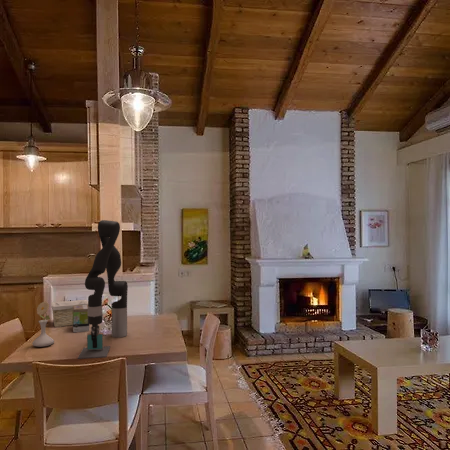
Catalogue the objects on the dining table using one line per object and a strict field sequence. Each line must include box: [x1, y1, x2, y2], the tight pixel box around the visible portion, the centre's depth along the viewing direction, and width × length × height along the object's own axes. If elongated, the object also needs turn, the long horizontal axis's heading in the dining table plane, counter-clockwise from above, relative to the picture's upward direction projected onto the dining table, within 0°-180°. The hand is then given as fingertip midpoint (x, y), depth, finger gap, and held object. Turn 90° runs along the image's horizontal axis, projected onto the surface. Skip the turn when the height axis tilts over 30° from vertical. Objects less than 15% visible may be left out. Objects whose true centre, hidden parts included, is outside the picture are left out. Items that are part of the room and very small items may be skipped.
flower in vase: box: [31, 301, 55, 348], centre depth 231 cm, size 13×11×25 cm
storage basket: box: [50, 299, 88, 328], centre depth 284 cm, size 24×16×15 cm
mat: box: [77, 345, 111, 360], centre depth 218 cm, size 18×14×1 cm
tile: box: [86, 332, 104, 350], centre depth 220 cm, size 2×8×8 cm, turn 100°
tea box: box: [72, 305, 90, 333], centre depth 268 cm, size 15×10×15 cm
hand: (95, 346), depth 220 cm, fingers closed on tile, 2 cm apart
